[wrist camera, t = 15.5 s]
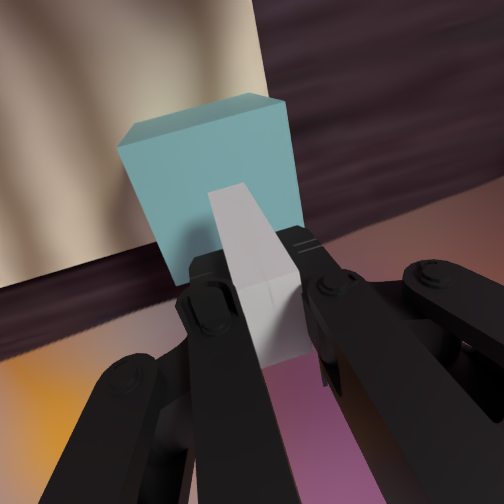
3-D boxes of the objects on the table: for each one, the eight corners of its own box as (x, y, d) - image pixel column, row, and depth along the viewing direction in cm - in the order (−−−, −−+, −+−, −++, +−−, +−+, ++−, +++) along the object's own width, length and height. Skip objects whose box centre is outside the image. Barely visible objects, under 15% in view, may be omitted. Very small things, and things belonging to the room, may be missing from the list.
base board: (-15, 283, 25) (-25, 295, 24) (-213, 41, 17) (-245, 38, 15) (281, 196, 27) (287, 202, 25) (233, -63, 18) (238, -74, 17)
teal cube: (175, 227, 24) (176, 286, 18) (134, 123, 20) (116, 147, 14) (271, 199, 25) (307, 245, 18) (249, 92, 21) (284, 101, 14)
